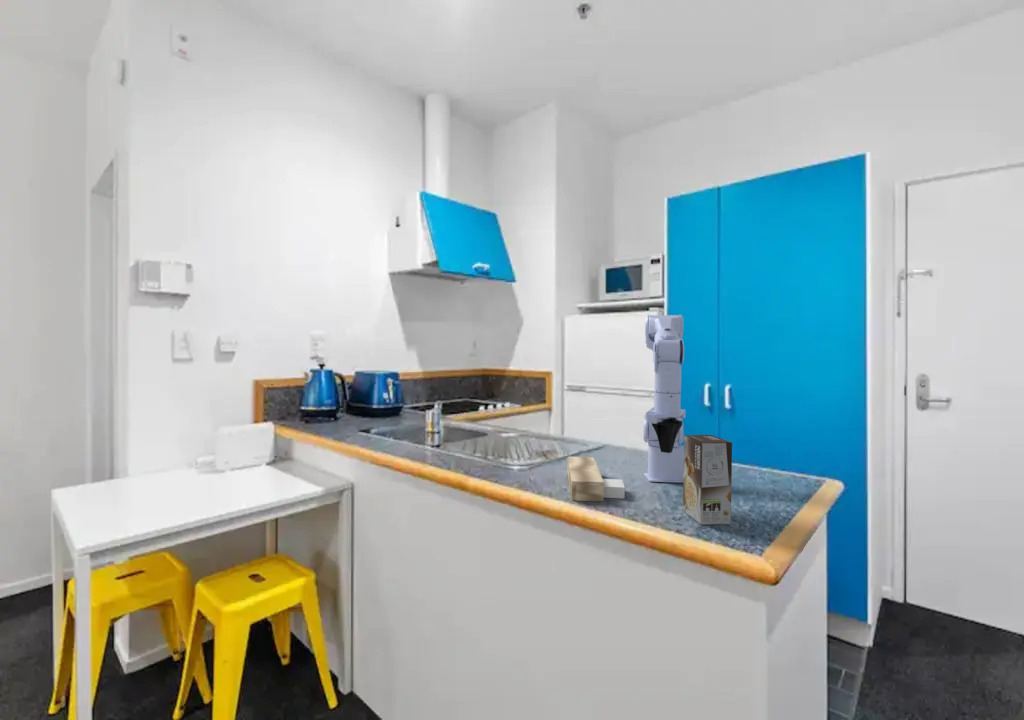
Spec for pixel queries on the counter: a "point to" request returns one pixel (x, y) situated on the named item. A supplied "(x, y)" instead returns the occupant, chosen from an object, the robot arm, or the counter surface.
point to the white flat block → (614, 488)
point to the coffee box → (707, 479)
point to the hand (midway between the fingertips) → (666, 452)
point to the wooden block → (584, 479)
